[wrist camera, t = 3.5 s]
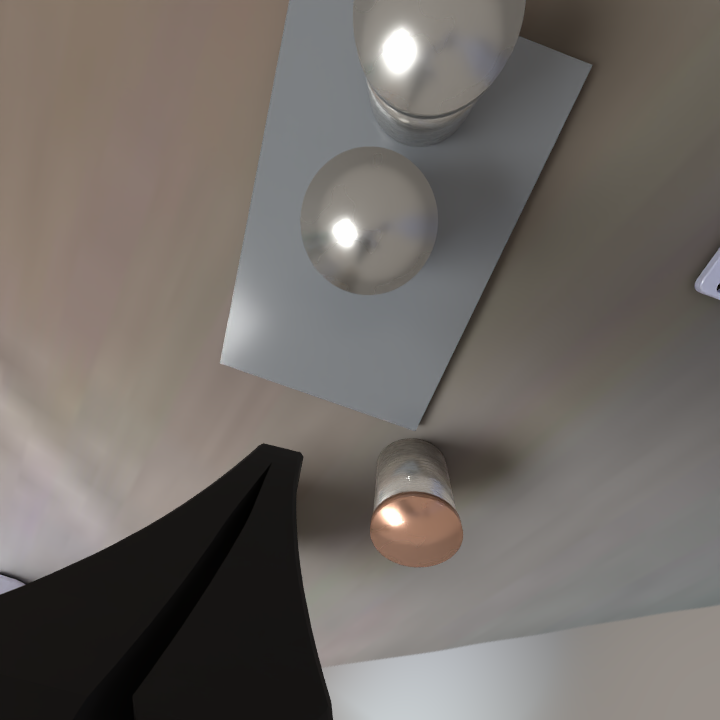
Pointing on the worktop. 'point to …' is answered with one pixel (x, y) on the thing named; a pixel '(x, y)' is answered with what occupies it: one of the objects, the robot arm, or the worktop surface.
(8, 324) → the worktop surface
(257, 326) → the slate board
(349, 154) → the tin middle
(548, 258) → the worktop surface
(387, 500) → the cylinder
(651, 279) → the worktop surface
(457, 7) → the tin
